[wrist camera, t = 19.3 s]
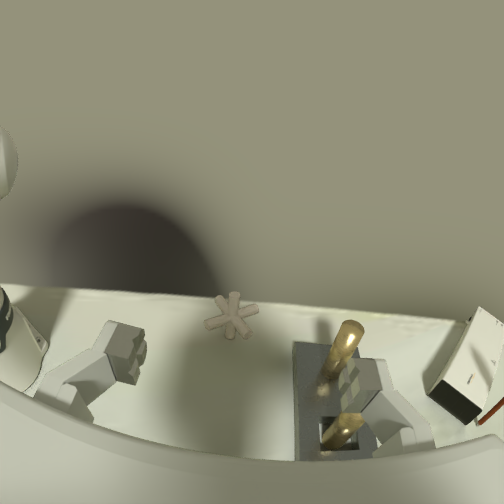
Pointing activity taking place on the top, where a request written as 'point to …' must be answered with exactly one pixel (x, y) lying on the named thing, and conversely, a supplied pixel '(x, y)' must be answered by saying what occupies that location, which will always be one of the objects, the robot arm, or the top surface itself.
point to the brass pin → (342, 429)
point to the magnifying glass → (491, 412)
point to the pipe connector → (232, 316)
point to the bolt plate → (325, 395)
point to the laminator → (470, 367)
